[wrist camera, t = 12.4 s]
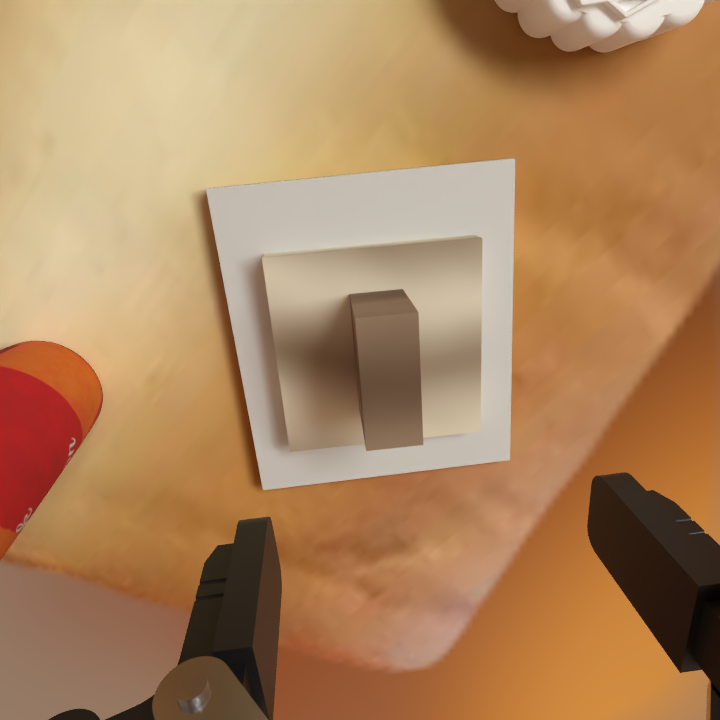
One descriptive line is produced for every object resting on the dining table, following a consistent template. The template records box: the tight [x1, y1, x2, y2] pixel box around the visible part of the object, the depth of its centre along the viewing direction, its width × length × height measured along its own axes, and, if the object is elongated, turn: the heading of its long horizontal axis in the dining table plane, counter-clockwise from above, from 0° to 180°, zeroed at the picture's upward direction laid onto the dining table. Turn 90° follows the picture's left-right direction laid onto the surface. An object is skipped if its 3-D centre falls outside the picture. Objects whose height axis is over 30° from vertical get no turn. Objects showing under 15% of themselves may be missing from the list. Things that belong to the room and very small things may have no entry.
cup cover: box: [262, 235, 482, 452], centre depth 24 cm, size 10×10×5 cm
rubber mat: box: [206, 159, 515, 490], centre depth 27 cm, size 16×14×1 cm
